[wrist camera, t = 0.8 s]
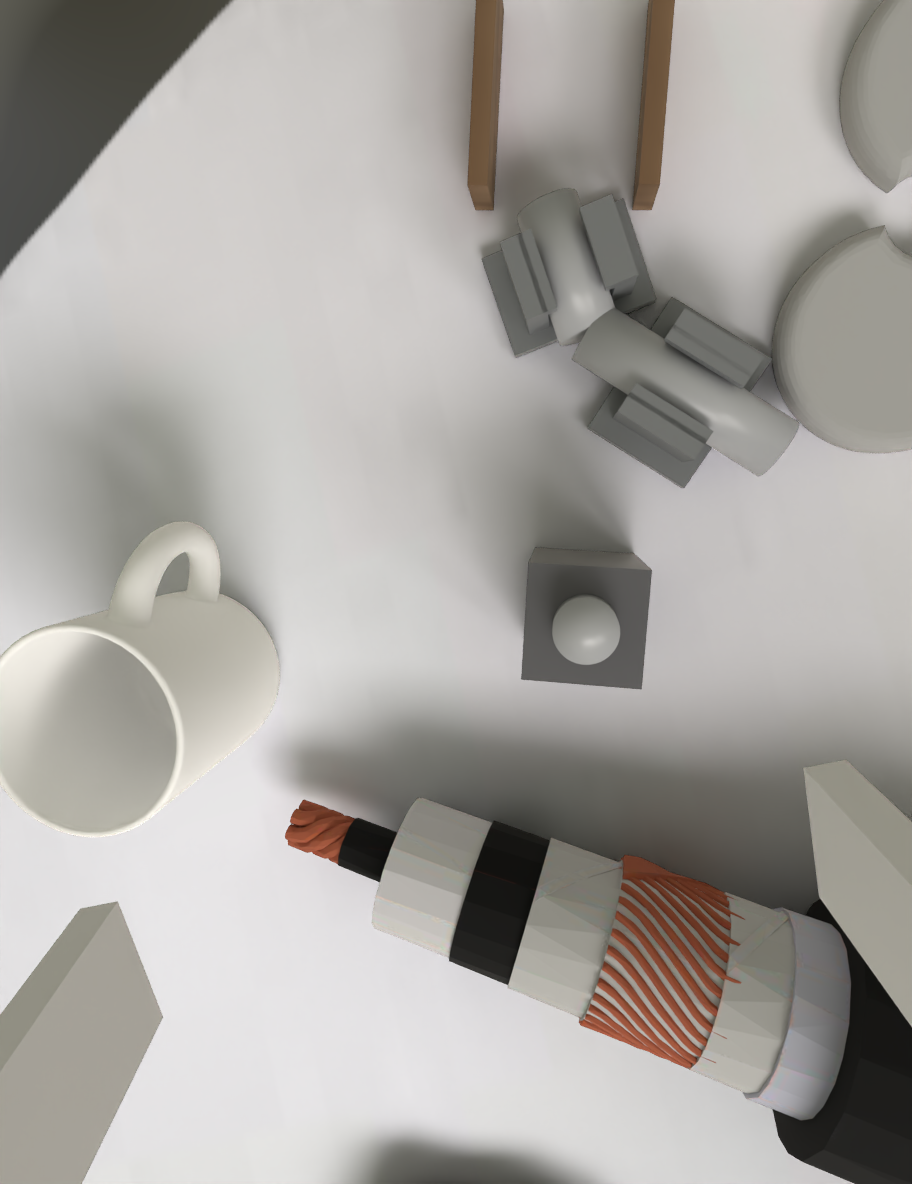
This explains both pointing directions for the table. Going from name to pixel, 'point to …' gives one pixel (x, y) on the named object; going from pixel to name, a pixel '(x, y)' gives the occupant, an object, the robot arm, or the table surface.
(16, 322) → the table surface
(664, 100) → the end holder
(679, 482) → the clip
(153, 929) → the table surface
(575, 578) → the block
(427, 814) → the cable
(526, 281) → the clip
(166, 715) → the mug
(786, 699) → the table surface
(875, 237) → the holder
